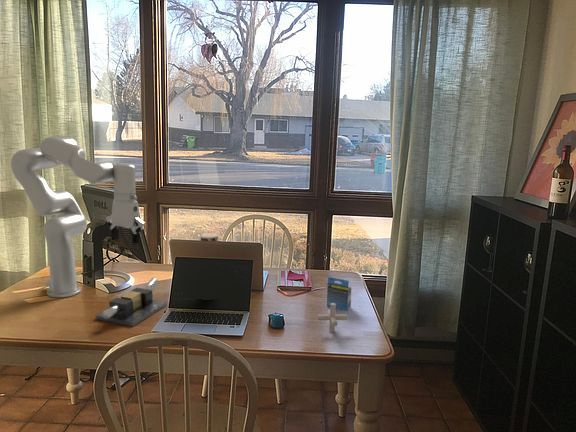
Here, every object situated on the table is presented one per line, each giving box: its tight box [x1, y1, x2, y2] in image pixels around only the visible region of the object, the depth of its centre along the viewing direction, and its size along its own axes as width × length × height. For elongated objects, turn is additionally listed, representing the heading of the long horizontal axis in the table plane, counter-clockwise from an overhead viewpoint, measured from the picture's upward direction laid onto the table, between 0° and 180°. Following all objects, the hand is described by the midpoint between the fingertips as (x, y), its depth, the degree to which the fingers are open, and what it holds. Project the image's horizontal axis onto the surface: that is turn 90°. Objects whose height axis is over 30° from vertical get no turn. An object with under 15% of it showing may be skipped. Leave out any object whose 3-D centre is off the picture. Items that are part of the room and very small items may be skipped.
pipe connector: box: [317, 303, 348, 333], centre depth 163 cm, size 10×10×10 cm
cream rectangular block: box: [120, 290, 142, 313], centre depth 175 cm, size 4×6×7 cm
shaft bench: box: [95, 277, 167, 327], centre depth 175 cm, size 16×29×9 cm, turn 160°
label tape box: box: [326, 276, 352, 311], centre depth 184 cm, size 9×4×12 cm, turn 62°
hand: (125, 241), depth 180 cm, fingers open, 9 cm apart
